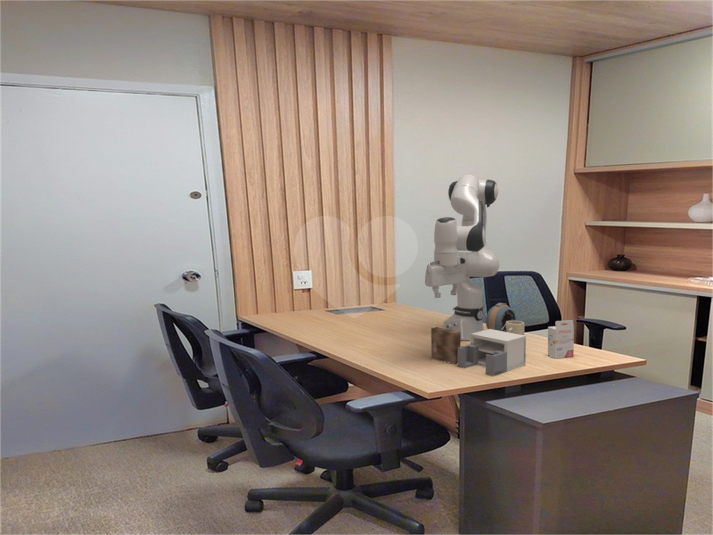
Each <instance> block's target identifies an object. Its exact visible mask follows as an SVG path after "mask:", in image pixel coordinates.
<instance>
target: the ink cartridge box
mask: <svg viewBox="0 0 713 535" xmlns="http://www.w3.org/2000/svg"><path fill="white" fill-rule="evenodd" d="M563 324H564V325H563ZM574 335H575V328H574V319H570V320H566V319H565V320H556V321H555V326H554V325H553V326H548V327H547V356H548V355H549V356H548V357H550V356H551V358H553V357H554V358H553V359H555V358H557V359H563V358H562V357H566V358H573V357H574V347H575V346H574V343H575V341H574V340H575V337H574Z"/></svg>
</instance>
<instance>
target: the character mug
mask: <svg viewBox="0 0 713 535" xmlns="http://www.w3.org/2000/svg"><path fill="white" fill-rule="evenodd" d="M506 332H509V333H514V334H519V335H525V322H524V321H520V320H516V321H506Z"/></svg>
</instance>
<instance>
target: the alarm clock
mask: <svg viewBox="0 0 713 535" xmlns="http://www.w3.org/2000/svg"><path fill="white" fill-rule="evenodd" d="M506 321H517V317H516V313H515V310H514V309H512V308H511V307H510V306H509V305H507V303H504V302H498V303H496V304H495V305H494V306H492V307H491V308H489V310H488V312H487V315H486V318H485V326H486V330H487V329H493V330H498V331H503V332H506Z"/></svg>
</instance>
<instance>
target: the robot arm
mask: <svg viewBox="0 0 713 535" xmlns="http://www.w3.org/2000/svg"><path fill="white" fill-rule="evenodd" d="M447 194H448V200H449V201H450V205H451V207H452V209H453V210H454V211H455V212H456V213H457V214H459V215H462V219H461V225H458V223H457V218H454V217H449V216H448V217H447V216H445V217H439V218H438V219H436V221H435V226H434V232H433V234H434V235H433V241H434V242H433V243H434V251H433V261H429V263H428V264H427V265H426V269H425V278H424V284H425V286H426V287H429V288H430V287H431V289H432V291H433V293H434V298H435V299H439V298H441V296H442V295H441V292H440V291H439V289H440V286H448V285H449V286H450V285H452V288H451V290H450V295H451V296H456V298H457V300H456V302H457V305H456V306H455V307H453V308H452V311H454V313H453V314H452V315H451V316H449V317H448V318H447V319H445V320H444V322H443V324H442V328H444V329H448V330H453V331H458V332H461V341H471V334H472V333H476V332H480V331H483V330H485V329H484V323H483V318H484V317H483V316H484V306H483V291H482V289H481V287H480V286H478V285H477V284H475V283H473V281H472V280H471V278H470V277H472V278H489V277H493V276H495V275H496V274H497V273H498V272H499V268H500V261H499V258H498V257H497V256H496V255H495V254H494V253H493V252H492V251H491V250H490V248H489V247H488V244H487V239H486V238H487V236H486V234H487V233H486V232H487V217H488V216H487V208H490V206H491V205H492V204H494V202H496V200H497V199H498V195H499V188H498V184H497V182H496V181H495V180H493V179H478V178H477V177H476V175H473V174H464V175H462V176H460V177H459V178H458V179H457V180H455V181H453V182H451V183H450V184H449V187H448V191H447ZM459 251H460V252H459ZM461 251H462V252H461ZM463 251H465V252H463Z"/></svg>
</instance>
